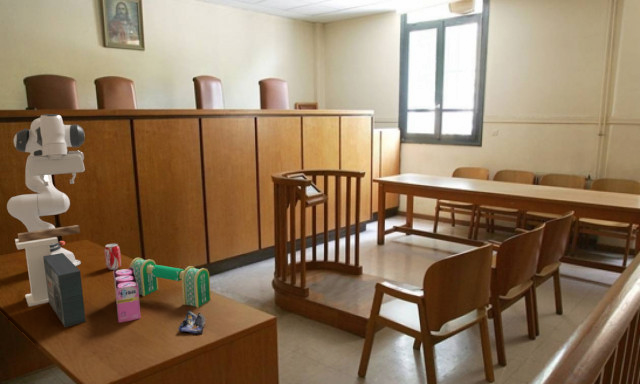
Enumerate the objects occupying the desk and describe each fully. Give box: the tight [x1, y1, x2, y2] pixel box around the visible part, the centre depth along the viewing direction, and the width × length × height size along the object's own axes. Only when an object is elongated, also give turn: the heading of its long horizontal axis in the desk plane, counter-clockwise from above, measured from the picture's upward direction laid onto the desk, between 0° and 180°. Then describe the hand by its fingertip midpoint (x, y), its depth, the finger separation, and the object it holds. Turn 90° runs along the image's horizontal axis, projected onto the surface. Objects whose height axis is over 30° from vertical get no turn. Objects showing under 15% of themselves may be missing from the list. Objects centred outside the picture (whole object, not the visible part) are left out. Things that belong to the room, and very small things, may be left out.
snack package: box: [178, 309, 206, 335], centre depth 163 cm, size 12×6×12 cm
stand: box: [14, 236, 59, 307], centre depth 188 cm, size 14×12×26 cm
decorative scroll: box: [129, 257, 212, 309], centre depth 189 cm, size 36×8×15 cm, turn 65°
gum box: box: [113, 266, 141, 324], centre depth 178 cm, size 24×8×14 cm, turn 26°
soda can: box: [104, 242, 122, 271], centre depth 226 cm, size 7×7×12 cm
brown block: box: [17, 224, 81, 242], centre depth 189 cm, size 22×3×3 cm, turn 127°
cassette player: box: [43, 253, 87, 328], centre depth 176 cm, size 29×7×20 cm, turn 41°
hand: (59, 184), depth 189 cm, fingers open, 8 cm apart
